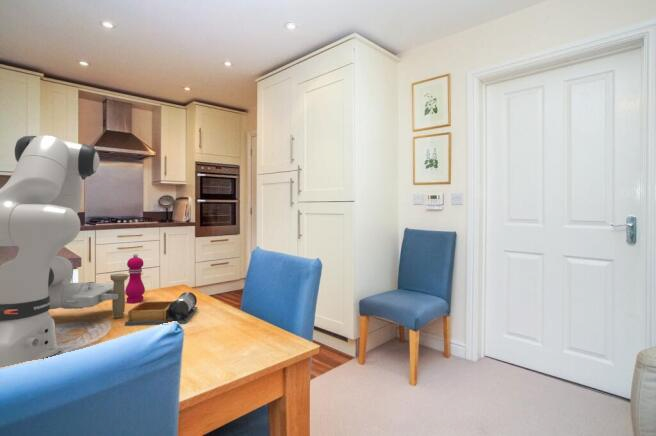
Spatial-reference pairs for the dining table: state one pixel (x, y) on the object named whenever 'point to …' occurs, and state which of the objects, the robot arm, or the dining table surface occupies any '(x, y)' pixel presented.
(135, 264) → the pepper mill
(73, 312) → the dining table surface
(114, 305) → the handle
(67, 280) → the robot arm
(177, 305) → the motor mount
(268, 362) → the dining table surface
